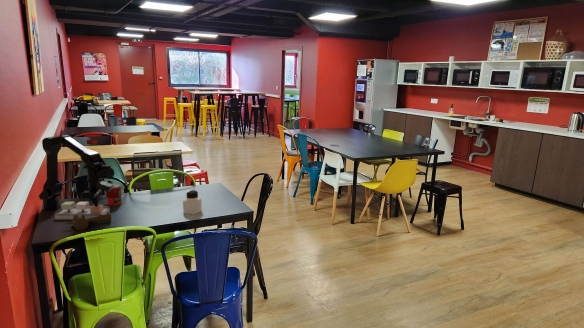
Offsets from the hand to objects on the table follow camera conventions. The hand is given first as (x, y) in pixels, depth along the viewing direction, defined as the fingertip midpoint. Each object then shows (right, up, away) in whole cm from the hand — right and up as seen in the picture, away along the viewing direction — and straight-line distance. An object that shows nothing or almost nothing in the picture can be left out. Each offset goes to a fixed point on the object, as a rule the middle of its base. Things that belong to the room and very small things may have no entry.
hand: (96, 206), depth 197 cm
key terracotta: (0, -3, +1) cm, 3 cm away
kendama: (+3, -8, -12) cm, 15 cm away
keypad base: (-7, -5, 0) cm, 9 cm away
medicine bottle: (+47, -5, +10) cm, 49 cm away
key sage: (-14, -1, -1) cm, 14 cm away
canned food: (0, -1, +19) cm, 19 cm away
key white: (-7, -1, 0) cm, 7 cm away
